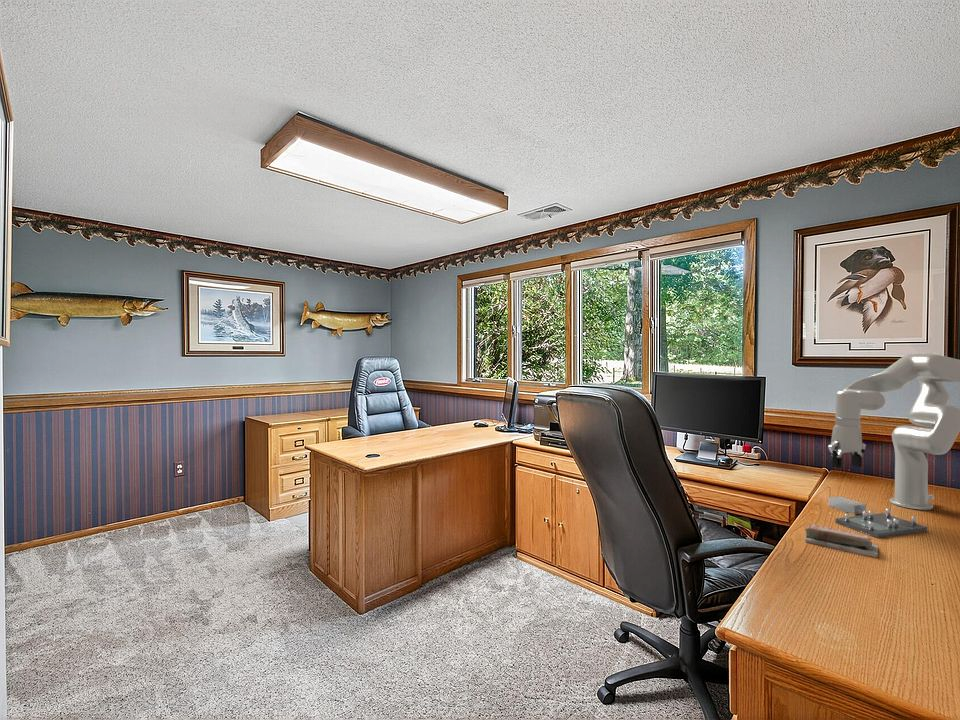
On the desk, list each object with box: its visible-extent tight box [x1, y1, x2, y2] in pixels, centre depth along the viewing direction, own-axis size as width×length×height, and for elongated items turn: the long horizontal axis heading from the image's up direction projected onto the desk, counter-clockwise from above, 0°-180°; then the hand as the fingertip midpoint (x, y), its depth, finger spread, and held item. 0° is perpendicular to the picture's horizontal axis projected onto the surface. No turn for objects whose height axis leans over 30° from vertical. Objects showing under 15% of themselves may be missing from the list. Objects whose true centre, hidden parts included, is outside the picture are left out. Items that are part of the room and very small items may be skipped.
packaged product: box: [804, 523, 879, 558], centre depth 145 cm, size 18×5×10 cm
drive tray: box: [834, 508, 928, 539], centre depth 159 cm, size 22×14×4 cm, turn 103°
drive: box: [828, 495, 867, 516], centre depth 176 cm, size 6×10×4 cm, turn 13°
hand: (846, 466), depth 176 cm, fingers open, 9 cm apart
